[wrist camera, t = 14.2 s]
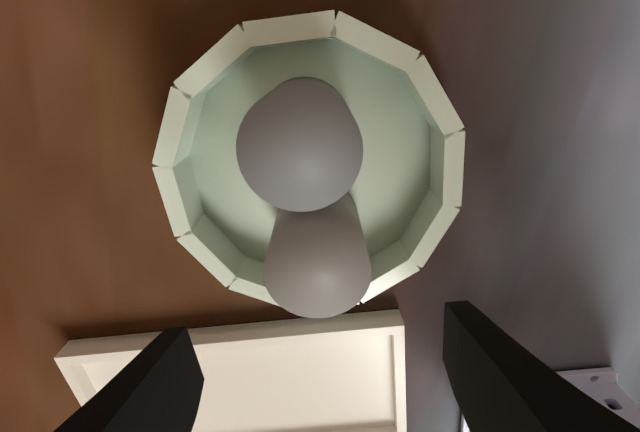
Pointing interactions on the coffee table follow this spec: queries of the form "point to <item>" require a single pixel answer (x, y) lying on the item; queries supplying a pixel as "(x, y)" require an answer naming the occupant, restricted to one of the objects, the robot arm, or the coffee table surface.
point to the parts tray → (275, 373)
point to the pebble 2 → (318, 260)
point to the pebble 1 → (300, 145)
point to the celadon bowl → (368, 111)
